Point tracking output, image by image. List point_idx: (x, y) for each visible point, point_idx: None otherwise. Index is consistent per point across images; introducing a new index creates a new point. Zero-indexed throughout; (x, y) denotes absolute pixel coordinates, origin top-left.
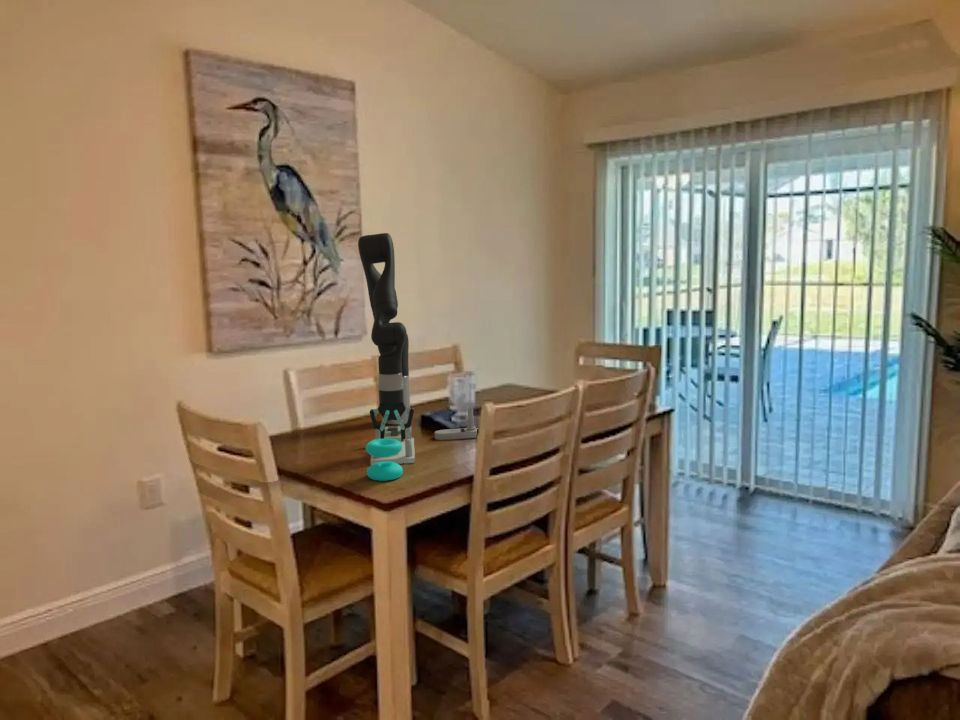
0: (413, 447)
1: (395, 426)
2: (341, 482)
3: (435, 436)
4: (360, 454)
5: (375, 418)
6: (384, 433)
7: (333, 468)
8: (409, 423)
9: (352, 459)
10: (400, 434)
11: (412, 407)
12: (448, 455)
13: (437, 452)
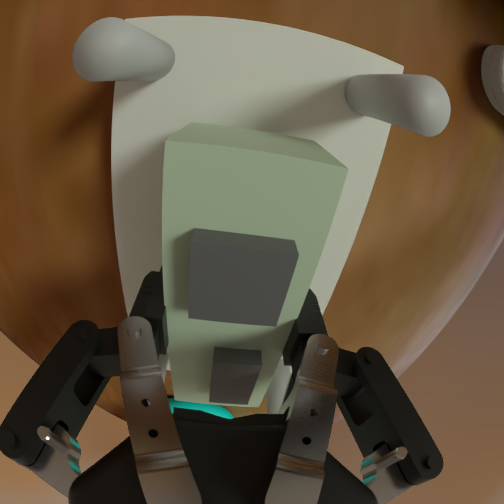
0: (337, 271)
1: (270, 273)
2: (109, 404)
3: (489, 78)
4: (75, 222)
5: (78, 424)
6: (167, 339)
7: (51, 338)
8: (352, 404)
9: (66, 281)
10: (269, 378)
11: (437, 475)
12: (413, 319)
13: (408, 283)
